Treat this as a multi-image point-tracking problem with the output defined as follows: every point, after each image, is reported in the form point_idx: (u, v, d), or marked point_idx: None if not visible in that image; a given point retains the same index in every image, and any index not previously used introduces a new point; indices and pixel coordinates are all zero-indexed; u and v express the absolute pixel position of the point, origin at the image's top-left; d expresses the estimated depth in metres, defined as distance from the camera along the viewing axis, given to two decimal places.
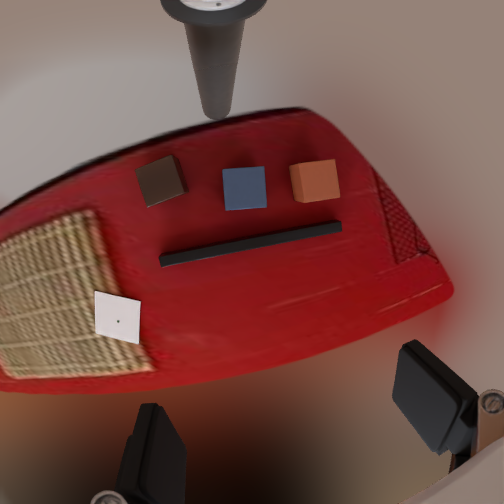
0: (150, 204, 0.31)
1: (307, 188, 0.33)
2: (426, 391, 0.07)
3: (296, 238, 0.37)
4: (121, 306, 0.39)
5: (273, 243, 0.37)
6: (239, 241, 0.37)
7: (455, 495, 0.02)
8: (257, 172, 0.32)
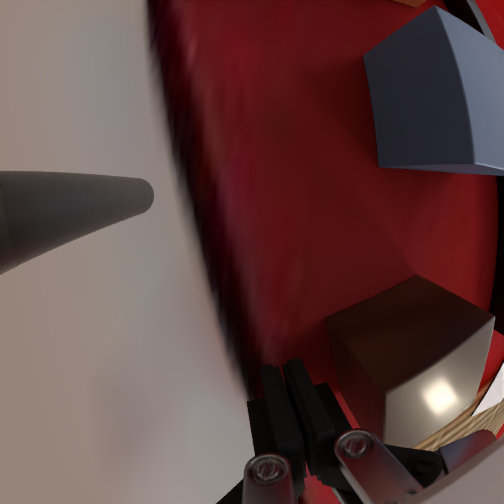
0: (473, 398, 0.07)
1: None
2: (296, 413, 0.08)
3: (491, 34, 0.06)
4: (502, 374, 0.15)
5: None
6: None
7: (455, 495, 0.02)
8: (457, 33, 0.04)
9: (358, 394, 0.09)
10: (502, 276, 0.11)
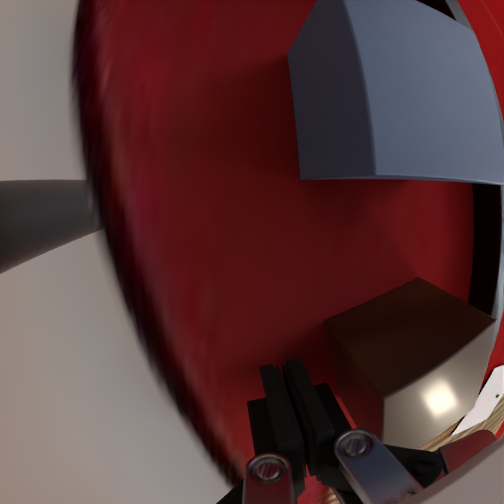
0: (474, 403, 0.07)
1: None
2: (296, 413, 0.08)
3: (464, 17, 0.06)
4: (485, 394, 0.15)
5: (487, 69, 0.07)
6: None
7: (455, 495, 0.02)
8: (368, 2, 0.03)
9: (357, 398, 0.08)
10: (478, 295, 0.11)
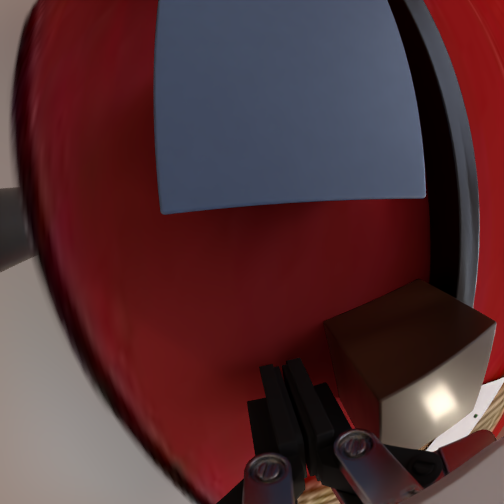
0: (473, 405, 0.07)
1: None
2: (296, 413, 0.08)
3: None
4: None
5: (445, 53, 0.06)
6: (456, 154, 0.07)
7: (455, 495, 0.02)
8: (192, 0, 0.03)
9: (355, 399, 0.08)
10: None
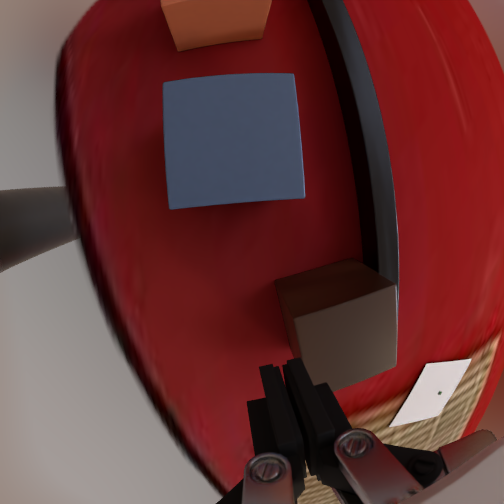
0: (394, 360, 0.12)
1: None
2: (296, 413, 0.08)
3: (355, 37, 0.11)
4: (423, 389, 0.19)
5: (371, 85, 0.12)
6: (370, 164, 0.13)
7: (455, 495, 0.02)
8: (179, 98, 0.09)
9: (291, 335, 0.14)
10: None
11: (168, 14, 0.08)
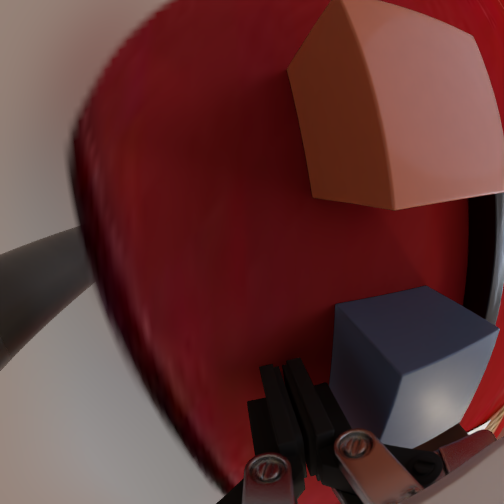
0: None
1: (481, 169, 0.05)
2: (296, 413, 0.08)
3: None
4: None
5: None
6: None
7: (455, 495, 0.02)
8: (413, 391, 0.06)
9: None
10: None
11: None
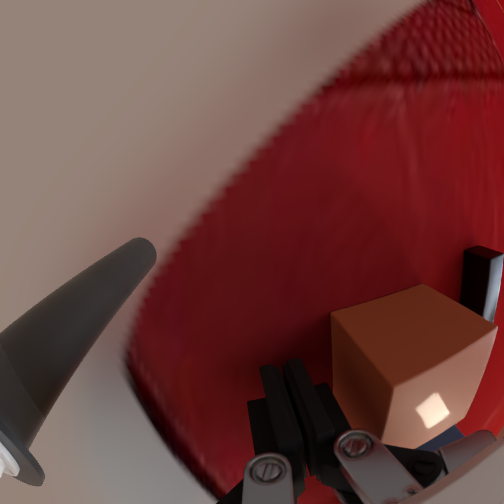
0: None
1: (441, 427, 0.07)
2: (296, 413, 0.08)
3: None
4: None
5: None
6: None
7: (455, 495, 0.02)
8: None
9: None
10: None
11: None
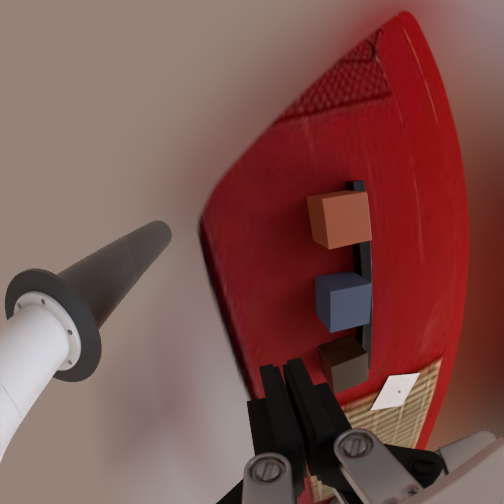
0: (367, 378, 0.31)
1: (357, 236, 0.26)
2: (296, 413, 0.08)
3: (368, 241, 0.30)
4: (388, 389, 0.39)
5: (370, 267, 0.30)
6: None
7: (455, 495, 0.02)
8: (336, 298, 0.27)
9: (326, 369, 0.32)
10: None
11: None
